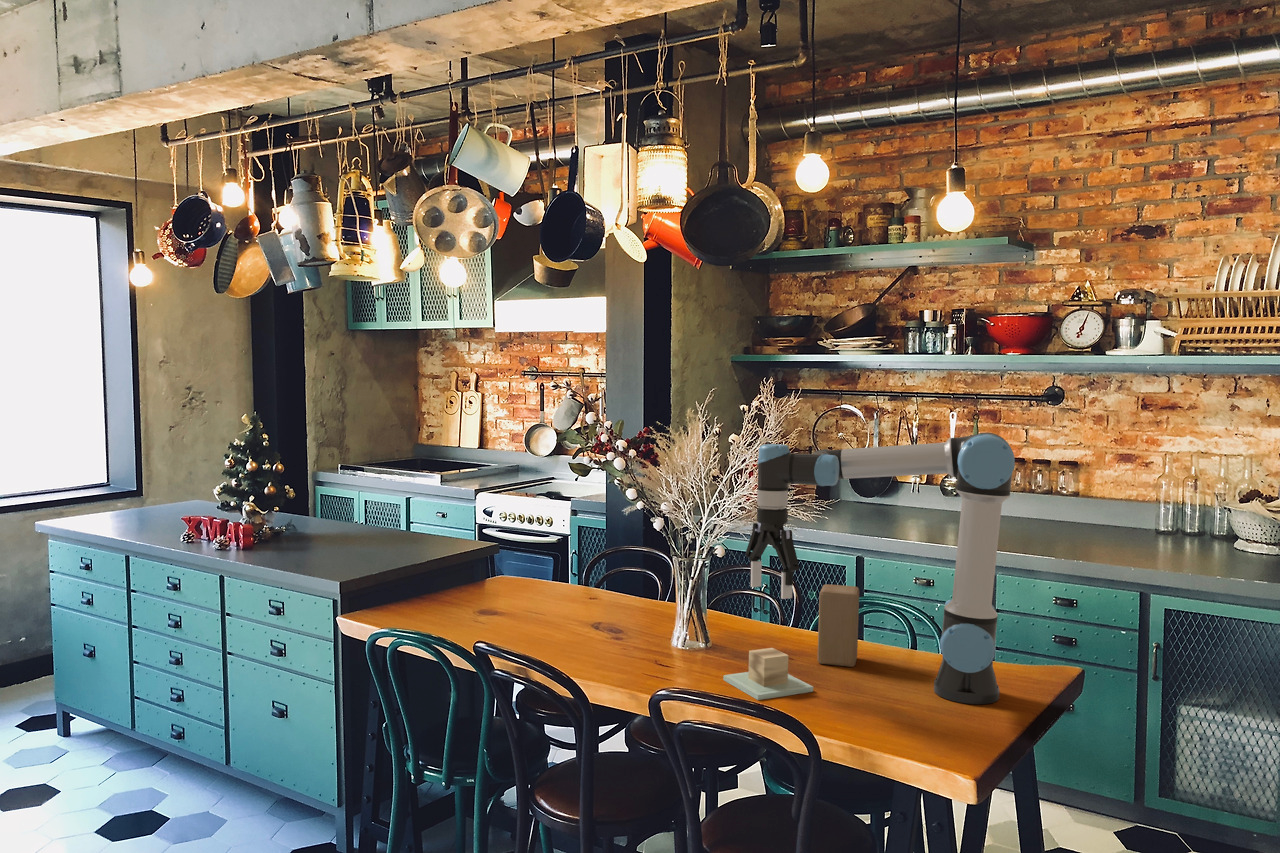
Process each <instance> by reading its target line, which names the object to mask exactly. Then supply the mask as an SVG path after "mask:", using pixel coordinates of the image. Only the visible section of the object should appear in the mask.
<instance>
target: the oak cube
mask: <svg viewBox="0 0 1280 853" xmlns="http://www.w3.org/2000/svg"><path fill="white" fill-rule="evenodd" d="M747 672H748V678H749V679H751V680H752V681H754V682H756V683H758V684H760V685H761V686H763V687H766V686H773V685H779V684H786V683H788V674H789V655H788V654H787V653H784V652H782V651H780V650H778V649H776V648H774V647H768V648H759V649H752V650H749V651H748V671H747Z"/></svg>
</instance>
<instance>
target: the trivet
mask: <svg viewBox="0 0 1280 853" xmlns="http://www.w3.org/2000/svg"><path fill="white" fill-rule="evenodd" d="M722 679H723V681H725V683H728V684H730V685H731V686H733V687H735V688H736V689H738V690H739V691H741V692H744V693H745V694H747V695H749V696H750V697H752V698H754V699H755V700H756V701H760V700H767V699H774V698H782V697H787V696H793V695H799V694H807V693H812V692H814V686H813V685H811V684H809V683H807V682H805V681H803V680H801V679H800V678H797V677H795V676H793V675H792V674H789V673H788V683H786V684H779V685H773V686H766V687H763V686H761V685H760V684H758V683H756V682H754V681H752V680H751V679H749V678H748V671H745V672H738V673H737V672H736V673H730V674H725V675H723V678H722Z"/></svg>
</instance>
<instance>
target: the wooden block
mask: <svg viewBox="0 0 1280 853" xmlns="http://www.w3.org/2000/svg"><path fill="white" fill-rule="evenodd" d="M818 600H819V601H818V603H819V604H818V628H817V631H818V632H817V662H818V663H819V664H821V665H830V666H837V667H838V666H840V667H848V668H852V667H855V666H856V662H857V658H858V644H859V643H858V641H859V615H860V614H859V613H860V608H859V607H860V589H859V587H858V586H853V585H841V584H823V585H822V587H821V589H820V592H819V597H818Z"/></svg>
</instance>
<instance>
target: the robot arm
mask: <svg viewBox="0 0 1280 853" xmlns="http://www.w3.org/2000/svg"><path fill="white" fill-rule="evenodd" d="M757 458H758V459H757V490H756V491H757V492H756V493H757V494H756V495H757V496H756V497H757V498H756V505H757V506H758V507H757V508H756V522H754V523H753V524H752V531H751V535H750V537H749V542H748V545H747V547H746V551H745V557H746V558H748V559H749V561H750V588H758V587H759V588H761V587H762V572H763V571H762V566H763V565H762V564H763V562H762V560H763V559H762V556H763V554H764V552H765V551H766V549H767V547H768V545H769V546H772V548H773V549H774V550H775V552H776V554H777V557H778V560H779V562H780V564H781V567H782V570H781V573H780V574H781V582H780V583H781V585H780V587H781V588H780V599H782V600H786V599H793V585H794V572H796V571H799V570H800V564H799V560H798V556H797V552H796V549H795V544H794V540H793V530H791V529H785V528H784V526H785V525H786V524H788V521H789V520H788V519H789V518H788V517H789V514H788V513H789V508H787V507H788V502H789V501H788V500H789V484H790V485H806V486H807V485H808V486H820V487H825V486H826V487H827V486H829V487H833V486H836V485H837V484H838V481H839V480H844V479H847V480H848V479H864V478H882V477H884V478H885V477H903V476H905V477H906V476H923V475H924V476H925V475H928V476H929V475H945V474H947V475H949V476H951V477H952V478H956V484H955V485H956V486H955V491H956V492H957V494H958V495H959V496H960V497H961V507H960V517H959V518H960V519H959V524H958V525H959V528H958V537H957V548H956V555H955V568H954V577H953V579H954V580H953V590H952V597H951V598H952V599H949V600H946V601H945V603H944V608H943V619H942V628H941V629H942V630H941V636H940V639H939V649H940V653H941V655H942V660H941V663H940V665H939V666H940V667H939V668H938V672H937V674H936V675H937V676H936V677H935V679H934V683H933V692H934V693H935V694H936V695H937V696H939V697H941V698H944V699H945V700H949V701H952V702H956V703H961V704H970V705H988V704H993V703H995V702H997V701H999V699H1000V687H999V685H998V684H997V678H996V673H995V670H994V665H993V664H994V662H993V661H994V659H995V657H996V651H997V647H996V635H997V625H998V617H999V615H998V614H999V613H998V612H997V611H996V609H995V608H996V607H995V606H994V605H993V594H994V584H995V574H996V566H997V556H998V546H999V545H998V544H999V535H1000V527H1001V517H1002V505H1003V503H1004V502H1005V501H1006V500H1008V498H1010V497H1011V488H1012V479H1013V472H1014V469H1015V466H1016V458H1015V455H1014V451H1013V449H1012V447H1011V446H1010V444H1009V442H1008V441H1006V439H1004V438H1003V437H1002V436H1000V435H999V434H996V433H993V432H978V433H975V434H972V435H966V436H959V437H949V438H948V439H947V440H946V441H945V442H933V443H919V444H917V443H916V444H904V445H903V444H901V445H888V446H887V445H885V446H884V445H883V446H873V447H859V448H858V447H857V448H843V449H818V450H816V451H814V452H813V453H794V452H791V451H790V447H789V446H788V445H787V444H779V443H778V444H776V443H773V444H772V443H767V444H761V445H760V446H759V448H758V457H757Z"/></svg>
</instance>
